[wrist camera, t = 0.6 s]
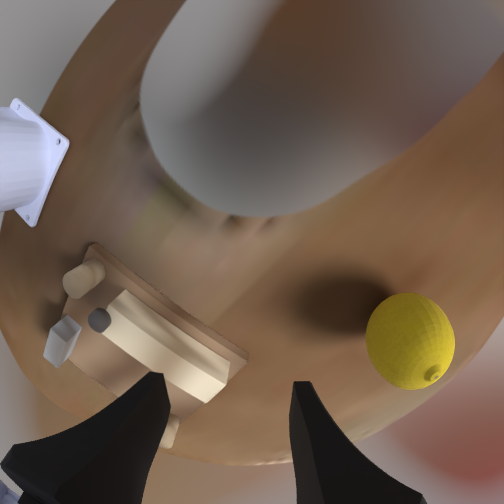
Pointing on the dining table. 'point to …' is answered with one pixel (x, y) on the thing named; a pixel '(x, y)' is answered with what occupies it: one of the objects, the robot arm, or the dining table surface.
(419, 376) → the lemon
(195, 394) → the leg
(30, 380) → the dining table surface
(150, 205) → the dining table surface
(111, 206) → the dining table surface
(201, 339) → the board
